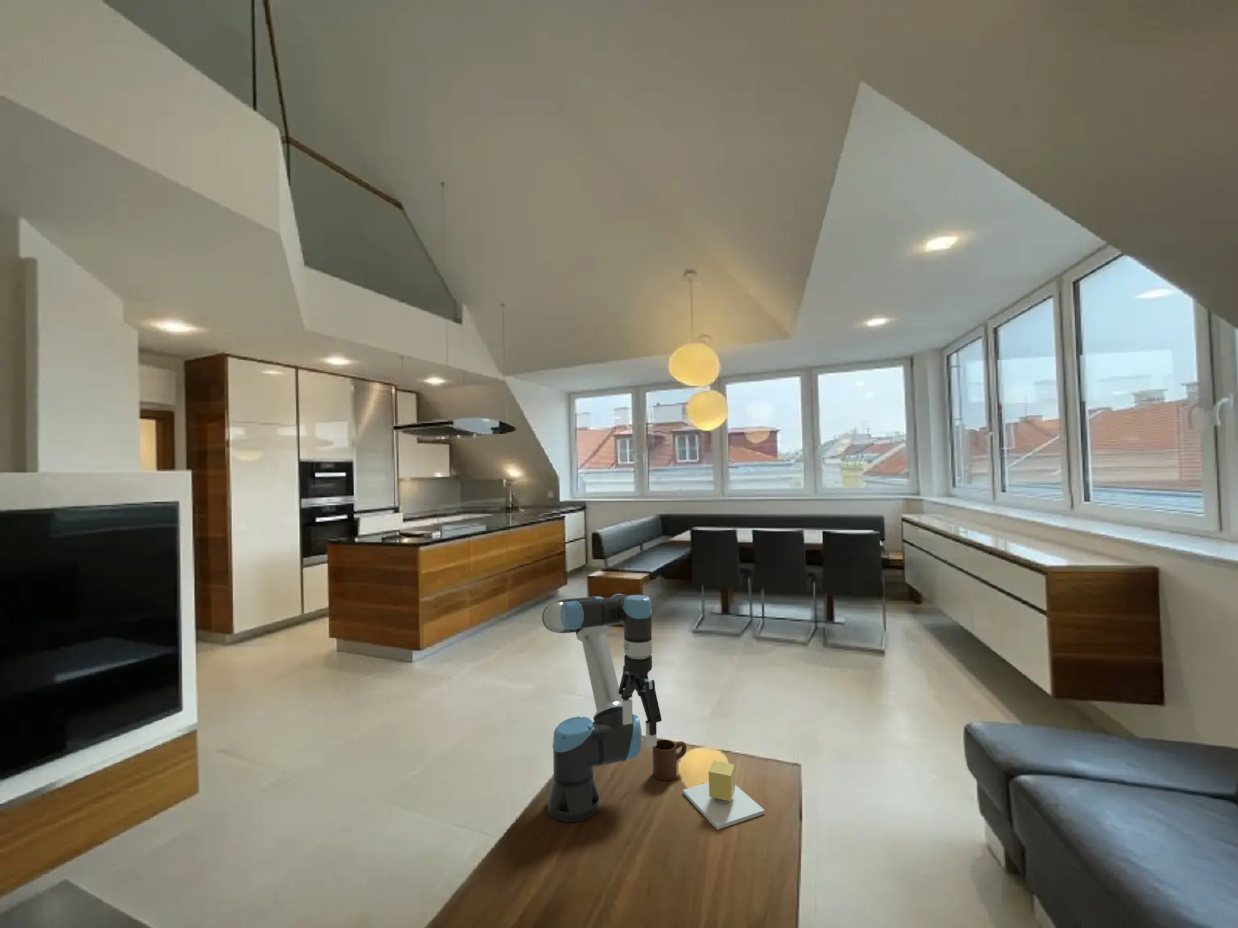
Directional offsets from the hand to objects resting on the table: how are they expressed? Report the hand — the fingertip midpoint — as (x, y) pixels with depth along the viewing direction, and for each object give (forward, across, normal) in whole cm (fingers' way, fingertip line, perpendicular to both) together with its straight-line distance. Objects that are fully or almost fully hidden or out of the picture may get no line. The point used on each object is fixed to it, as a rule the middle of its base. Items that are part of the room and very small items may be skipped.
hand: (638, 734), depth 135 cm
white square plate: (+26, -1, +28) cm, 38 cm away
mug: (+27, -21, +22) cm, 41 cm away
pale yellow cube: (+23, -1, +28) cm, 36 cm away
